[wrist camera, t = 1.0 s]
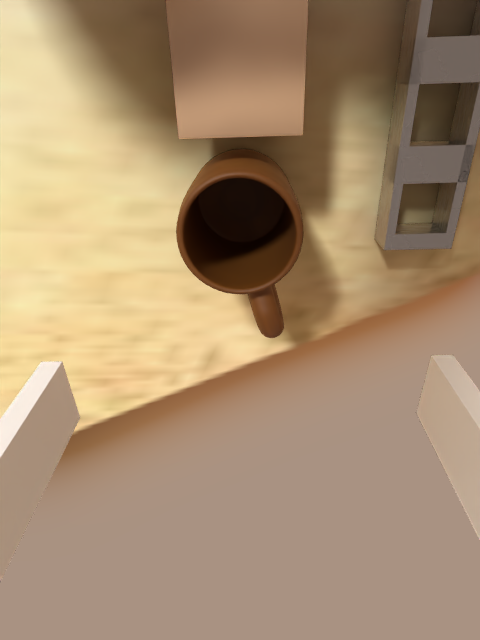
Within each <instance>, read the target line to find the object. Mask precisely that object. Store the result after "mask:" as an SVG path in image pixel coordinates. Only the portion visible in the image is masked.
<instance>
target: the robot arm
mask: <svg viewBox="0 0 480 640" xmlns="http://www.w3.org/2000/svg"><path fill="white" fill-rule="evenodd" d="M416 414H417V416H418V418H419V420H420V422H421V424H422V426H423V428H424V430H425V432H426V434H427V436H428V438H429V440H430V442H431V444H432V446H433V448H434V450H435V452H436V454H437V456H438V458H439V460H440V462H441V464H442V466H443V468H444V470H445V472H446V474H447V476H448V477H449V480H450V482H451V484H452V486H453V488H454V490H455V492H456V494H457V496H458V498H459V500H460V502H461V504H462V506H463V508H464V510H465V512H466V514H467V516H468V518H469V520H470V522H471V524H472V526H473V528H474V530H475V532H476V534H477V536H478V538H479V540H480V390H479V389H478V388H477V387H476V385H475V384H474V382H473V381H472V380H471V378H470V377H469V376H468V374H467V373H466V372H465V370H464V369H463V367H462V366H461V365H460V363H459V362H458V361H457V359H456V358H455V357H454V355H431V358H430V362H429V366H428V369H427V373H426V377H425V381H424V385H423V388H422V392H421V396H420V400H419V404H418V408H417V411H416ZM79 419H80V416H79V412H78V409H77V406H76V403H75V400H74V397H73V394H72V391H71V387H70V384H69V381H68V378H67V375H66V372H65V369H64V366H63V362H41V363H40V364H39V366H38V367H37V369H36V370H35V371H34V373H33V374H32V376H31V377H30V378H29V380H28V381H27V383H26V384H25V385H24V387H23V388H22V390H21V391H20V392H19V394H18V395H17V397H16V398H15V399H14V401H13V402H12V404H11V405H10V406H9V408H8V409H7V411H6V412H5V413H4V415H3V416H2V418H1V419H0V582H1V580H2V578H3V576H4V574H5V571H6V569H7V567H8V565H9V563H10V561H11V559H12V557H13V555H14V553H15V551H16V549H17V547H18V545H19V542H20V540H21V539H22V536H23V534H24V532H25V530H26V528H27V526H28V524H29V522H30V520H31V518H32V516H33V514H34V511H35V510H36V508H37V505H38V503H39V501H40V499H41V497H42V495H43V493H44V491H45V489H46V487H47V484H48V483H49V481H50V479H51V476H52V475H53V472H54V470H55V468H56V466H57V464H58V462H59V460H60V458H61V456H62V454H63V452H64V450H65V448H66V446H67V444H68V442H69V439H70V437H71V435H72V433H73V431H74V429H75V427H76V425H77V423H78V421H79Z"/></svg>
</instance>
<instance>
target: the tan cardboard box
mask: <svg viewBox="0 0 480 640" xmlns="http://www.w3.org/2000/svg"><path fill="white" fill-rule="evenodd" d="M165 1H166V12H167V22H168V33H169V43H170V54H171V64H172V75H173V85H174V95H175V106H176V116H177V127H178V137H179V139H197V138H229V137H261V136H293V135H303V119H304V96H305V72H306V48H307V24H308V0H165Z"/></svg>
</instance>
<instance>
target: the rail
mask: <svg viewBox="0 0 480 640" xmlns="http://www.w3.org/2000/svg"><path fill="white" fill-rule="evenodd" d="M432 4H433V0H407V6H406V13H405V20H404V28H403V35H402V42H401V49H400V57H399V64H398V71H397V79H396V86H395V93H394V101H393V108H392V115H391V123H390V130H389V137H388V144H387V152H386V159H385V166H384V174H383V181H382V188H381V196H380V203H379V210H378V217H377V225H376V232H375V240H376V241H377V243H378V244H379V245H380V246H381V247H382V248H383V250H410V249H451V248H452V243H453V239H454V235H455V231H456V226H457V222H458V218H459V214H460V209H461V205H462V201H463V197H464V192H465V188H466V184H467V180H468V175H469V171H470V167H471V163H472V158H473V154H474V150H475V146H476V141H477V137H478V133H479V129H480V0H478V1H477V5H476V10H475V15H474V20H473V25H472V30H471V35H470V36H450V37H427V35H428V29H429V22H430V16H431V10H432ZM437 83H461V84H460V89H459V93H458V98H457V103H456V108H455V113H454V118H453V123H452V128H451V133H450V137H449V141H420V142H410V140H411V134H412V127H413V121H414V115H415V109H416V103H417V97H418V90H419V84H437ZM417 183H440V186H439V191H438V196H437V201H436V206H435V211H434V216H433V221H432V223H415V224H397V220H398V214H399V208H400V202H401V195H402V189H403V184H417Z"/></svg>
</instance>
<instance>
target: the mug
mask: <svg viewBox="0 0 480 640" xmlns="http://www.w3.org/2000/svg"><path fill="white" fill-rule="evenodd" d="M176 234H177V243H178V248H179V251H180V254H181V256H182V258H183V260H184V262H185V264H186V265H187V267H188V268H189V270H190V271H191V272H192V273H193V274H194V275H195V276H196V277H197V278H198V279H199V280H200V281H202V282H203V283H205V284H206V285H208V286H210V287H212V288H214V289H217V290H219V291H222V292H226V293H232V294H248V296H249V300H250V303H251V307H252V310H253V314H254V317H255V320H256V323H257V325H258V327H259V330H260V332H261V333H262V334H263V335H264V336H265V337H269V338H275V337H277V336H279V335H280V334H281V333H282V331H283V329H284V322H283V316H282V311H281V307H280V303H279V299H278V295H277V291H276V288H275V283H277V282H278V281H280V280H281V279H282V278H283V277H284V276H285V275H286V274H287V273H288V272H289V271H290V270H291V268H292V267H293V265H294V264H295V262H296V260H297V258H298V256H299V253H300V251H301V247H302V242H303V223H302V216H301V210H300V207H299V204H298V201H297V198H296V196H295V194H294V192H293V190H292V188H291V186H290V183H289V182H288V180H287V178H286V176H285V174H284V173H283V171H282V169H281V168H280V167H279V166H278V165H277V164H276V163H275V162H274V161H273V160H272V159H270V158H269V157H267V156H266V155H264V154H262V153H260V152H257V151H253V150H248V149H235V150H230V151H226V152H223V153H221V154H219V155H217V156H216V157H214V158H213V159H211V160H210V161H209V162H208V163H207V164H206V165H205V166H204V167H203V168H202V169H201V171H200V172H199V174H198V175H197V177H196V178H195V180H194V181H193V183H192V185H191V186H190V188H189V190H188V191H187V193H186V195H185V197H184V199H183V202H182V205H181V208H180V212H179V216H178V221H177V230H176Z"/></svg>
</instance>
